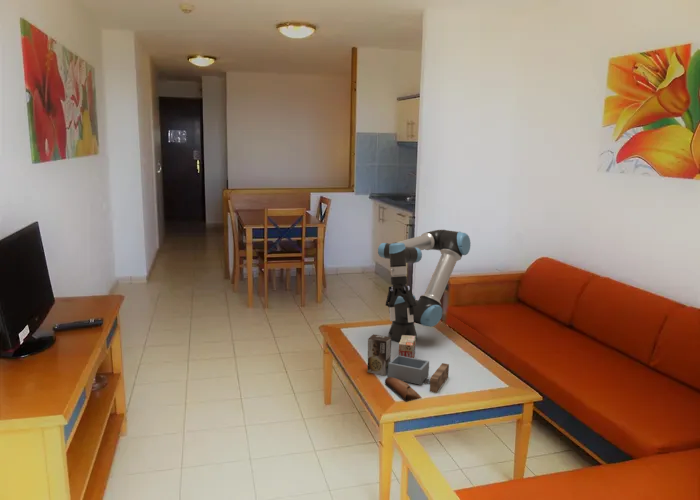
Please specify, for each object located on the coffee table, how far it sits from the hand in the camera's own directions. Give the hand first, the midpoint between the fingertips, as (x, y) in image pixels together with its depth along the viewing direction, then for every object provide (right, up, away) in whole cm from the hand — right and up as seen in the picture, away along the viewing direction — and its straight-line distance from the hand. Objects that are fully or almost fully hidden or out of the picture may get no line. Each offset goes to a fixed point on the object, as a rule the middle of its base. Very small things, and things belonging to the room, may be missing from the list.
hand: (401, 321), depth 253 cm
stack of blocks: (+3, -20, +5) cm, 20 cm away
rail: (+4, -23, -16) cm, 28 cm away
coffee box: (-11, -22, -9) cm, 26 cm away
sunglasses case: (-2, -26, -28) cm, 38 cm away
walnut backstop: (+14, -24, -20) cm, 35 cm away
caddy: (+2, -23, -14) cm, 27 cm away
